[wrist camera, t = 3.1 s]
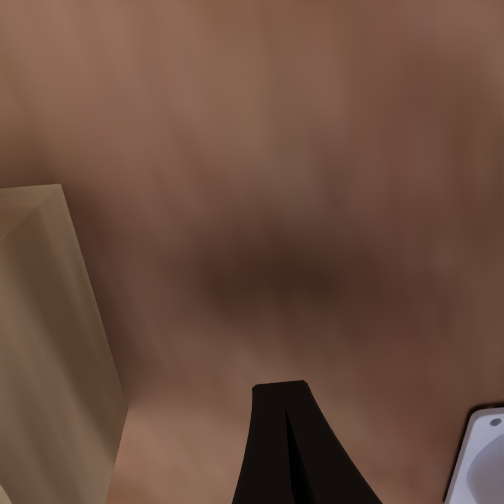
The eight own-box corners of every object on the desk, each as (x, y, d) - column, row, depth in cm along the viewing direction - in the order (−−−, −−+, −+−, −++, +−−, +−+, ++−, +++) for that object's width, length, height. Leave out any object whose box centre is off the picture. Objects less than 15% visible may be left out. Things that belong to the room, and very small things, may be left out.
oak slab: (61, 182, 12) (-93, 331, 6) (128, 406, 17) (78, 613, 11) (-55, 191, 12) (-328, 352, 6) (45, 414, 17) (-52, 628, 11)
